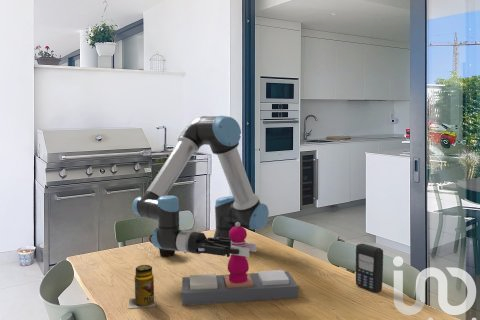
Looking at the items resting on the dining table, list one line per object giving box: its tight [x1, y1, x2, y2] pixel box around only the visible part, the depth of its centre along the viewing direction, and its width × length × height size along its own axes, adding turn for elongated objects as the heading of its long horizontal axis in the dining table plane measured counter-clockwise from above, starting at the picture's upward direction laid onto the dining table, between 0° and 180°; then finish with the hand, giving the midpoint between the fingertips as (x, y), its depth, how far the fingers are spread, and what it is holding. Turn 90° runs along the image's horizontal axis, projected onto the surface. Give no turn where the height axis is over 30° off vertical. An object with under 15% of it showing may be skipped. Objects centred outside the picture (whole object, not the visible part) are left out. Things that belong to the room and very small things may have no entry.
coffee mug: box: [148, 234, 176, 258], centre depth 190 cm, size 12×9×10 cm
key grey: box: [257, 269, 289, 286], centre depth 148 cm, size 9×9×3 cm
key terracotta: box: [224, 273, 254, 288], centre depth 147 cm, size 9×9×3 cm
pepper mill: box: [227, 222, 250, 283], centre depth 146 cm, size 7×7×20 cm
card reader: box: [355, 243, 384, 293], centre depth 149 cm, size 9×4×15 cm, turn 37°
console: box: [181, 270, 299, 306], centre depth 147 cm, size 14×38×4 cm, turn 97°
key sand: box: [189, 273, 218, 290], centre depth 145 cm, size 9×9×3 cm
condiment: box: [128, 264, 157, 309], centre depth 140 cm, size 7×8×12 cm
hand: (252, 250), depth 143 cm, fingers closed on pepper mill, 5 cm apart
